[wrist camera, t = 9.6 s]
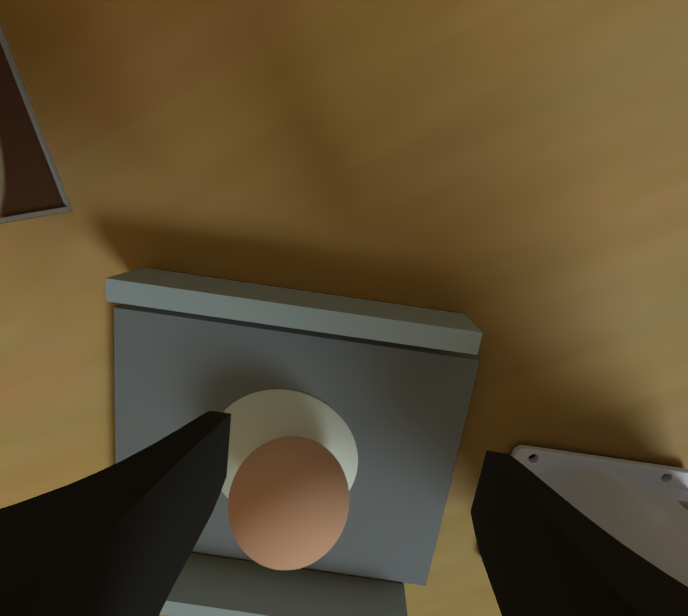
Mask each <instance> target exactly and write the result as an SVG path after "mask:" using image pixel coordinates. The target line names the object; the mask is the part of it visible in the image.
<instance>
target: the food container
mask: <svg viewBox="0 0 688 616" xmlns="http://www.w3.org/2000/svg"><path fill="white" fill-rule="evenodd" d="M70 211H73V209H72V207H71V204H70V202H69V199H68V196H67V194H66V191H65V189H64V186H63V184H62V181H61V178H60V176H59V173H58V171H57V168H56V166H55V163H54V161H53V158H52V155H51V153H50V150H49V148H48V145H47V143H46V140H45V137H44V135H43V132H42V130H41V127H40V125H39V122H38V120H37V117H36V114H35V112H34V109H33V107H32V104H31V102H30V99H29V96H28V94H27V91H26V89H25V86H24V84H23V81H22V78H21V76H20V73H19V71H18V68H17V66H16V63H15V61H14V58H13V55H12V53H11V50H10V48H9V45H8V43H7V40H6V37H5V35H4V32H3V30H2V27H1V25H0V224H2V223H8V222H14V221H19V220H25V219H31V218H36V217H42V216H48V215H53V214H59V213H65V212H70Z"/></svg>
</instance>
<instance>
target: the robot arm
mask: <svg viewBox="0 0 688 616" xmlns="http://www.w3.org/2000/svg"><path fill="white" fill-rule="evenodd" d="M230 424H231V413H224V412H217V411H208V412H206V413H204V414H202V415H201V416H199V417H197V418H196V419H194V420H192V421H191V422H189V423H188V424H186V425H184V426H183V427H181V428H179V429H178V430H176V431H174V432H173V433H171V434H169V435H168V436H166V437H164V438H163V439H161V440H159V441H157V442H156V443H154V444H152V445H150V446H148V447H147V448H145V449H143V450H141V451H139V452H137V453H135V454H133V455H132V456H130V457H128V458H126V459H124V460H122V461H120V462H118V463H116V464H114V465H112V466H110V467H108V468H106V469H104V470H102V471H99V472H97V473H95V474H93V475H90V476H88V477H86V478H83V479H81V480H79V481H76V482H74V483H72V484H69V485H67V486H64V487H61V488H58V489H56V490H53V491H50V492H48V493H45V494H42V495H39V496H37V497H34V498H31V499H28V500H26V501H23V502H20V503H17V504H14V505H11V506H8V507H5V508H1V509H0V616H159V614H160V612H161V610H162V608H163V606H164V604H165V602H166V600H167V598H168V596H169V594H170V592H171V590H172V588H173V586H174V584H175V582H176V580H177V579H178V577H179V575H180V573H181V571H182V569H183V567H184V565H185V563H186V562H187V560H188V558H189V556H190V554H191V552H192V550H193V548H194V547H195V545H196V543H197V541H198V539H199V537H200V535H201V533H202V532H203V530H204V528H205V526H206V524H207V522H208V520H209V518H210V516H211V514H212V512H213V510H214V508H215V505H216V503H217V500H218V498H219V495H220V493H221V490H222V487H223V485H224V482H225V479H226V477H227V465H228V451H229V438H230ZM532 454H535V456H534V457H533V458H529V456H530V455H532ZM664 474H665V476H663V475H664ZM662 476H663V477H662ZM471 516H472V521H473V526H474V531H475V535H476V539H477V544H478V548H479V551H480V554H481V557H482V561H483V564H484V566H485V569H486V572H487V575H488V577H489V580H490V583H491V586H492V589H493V591H494V594H495V597H496V600H497V603H498V605H499V608H500V611H501V614H502V616H688V470H687V469H685V468H679V467H672V466H665V465H658V464H651V463H645V462H638V461H631V460H624V459H617V458H610V457H603V456H596V455H589V454H583V453H576V452H569V451H562V450H555V449H548V448H541V447H534V446H528V445H519V446H516V447H515V448H514V449H513V451H512V454H511V455H509V454H506V453H499V452H492V451H487V452H486V456H485V459H484V463H483V467H482V471H481V475H480V478H479V482H478V486H477V490H476V493H475V497H474V501H473V505H472V509H471Z"/></svg>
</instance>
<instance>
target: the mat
mask: <svg viewBox="0 0 688 616" xmlns="http://www.w3.org/2000/svg"><path fill="white" fill-rule="evenodd" d="M479 364H480V360H479V358H478V357H477V356H476V355H474V354H467V353H461V352H454V351H447V350H440V349H433V348H426V347H419V346H412V345H405V344H398V343H391V342H385V341H378V340H371V339H364V338H357V337H350V336H343V335H336V334H329V333H322V332H315V331H309V330H302V329H295V328H288V327H281V326H274V325H267V324H260V323H253V322H246V321H239V320H232V319H226V318H219V317H212V316H205V315H198V314H191V313H184V312H177V311H170V310H163V309H156V308H150V307H143V306H136V305H129V304H121V305H119V306H116V307H114V379H115V464H116V463H118V462H120V461H122V460H124V459H126V458H128V457H130V456H132V455H133V454H135V453H137V452H139V451H141V450H143V449H145V448H147V447H148V446H150V445H152V444H154V443H156V442H157V441H159V440H161V439H163V438H164V437H166V436H168V435H169V434H171V433H173V432H174V431H176V430H178V429H179V428H181V427H183V426H184V425H186V424H188V423H189V422H191V421H192V420H194V419H196V418H197V417H199V416H201V415H202V414H204V413H206V412H208V411H217V412H224V413H231V424H230V438H229V451H228V465H227V477H226V479H225V482H224V485H223V487H222V490H221V493H220V495H219V498H218V500H217V503H216V505H215V508H214V510H213V512H212V514H211V516H210V518H209V520H208V522H207V524H206V526H205V528H204V530H203V532H202V533H201V535H200V537H199V539H198V541H197V543H196V545H195V547H194V548H193V550H192V551H193V552H200V553H206V554H213V555H220V556H227V557H234V558H241V559H247V560H252V559H251V558H250V557H249V556H248V555H246V554H245V552H244V551H243V550H242V549H241V548H240V546H239V545H238V543H237V541H236V539H235V537H234V535H233V533H232V530H231V527H230V523H229V517H228V496H229V492H230V487H231V484H232V481H233V479H234V476H235V474H236V472H237V470H238V469H239V467H240V465H241V464H242V463H243V461H244V460H245V459H246V458H247V457H248V456H249V455H250V453H252V452H253V451H254V450H255V449H256V448H258V447H259V446H261V445H263V444H264V443H266V442H268V441H271V440H273V439H276V438H280V437H287V436H298V437H304V438H308V439H311V440H313V441H316V442H318V443H320V444H321V445H323V446H324V447H325V448H327V449H328V450H329V451H330V452H331V453H332V454H333V455H334V456H335V458H336V459H337V460H338V462H339V463H340V465H341V467H342V469H343V471H344V473H345V476H346V479H347V483H348V488H349V511H348V516H347V520H346V523H345V526H344V528H343V531H342V533H341V535H340V537H339V538H338V540H337V541H336V543H335V544H334V545H333V547H332V548H331V549H330V550H329V551H328V552H327V553H326V554H325V555H324V556H323V557H321V558H320V559H319V560H317V561H316V562H314V563H312V564H310V565H308V566H306V567H303V568H309V569H316V570H322V571H329V572H336V573H343V574H350V575H357V576H363V577H370V578H377V579H384V580H391V581H398V582H404V583H411V584H418V585H425V586H426V582H427V577H428V573H429V569H430V565H431V561H432V557H433V553H434V549H435V545H436V540H437V536H438V532H439V528H440V524H441V520H442V516H443V512H444V508H445V503H446V499H447V495H448V491H449V487H450V483H451V479H452V475H453V471H454V466H455V462H456V458H457V454H458V450H459V446H460V442H461V438H462V434H463V429H464V425H465V421H466V417H467V413H468V409H469V405H470V401H471V397H472V392H473V388H474V384H475V380H476V376H477V372H478V368H479Z"/></svg>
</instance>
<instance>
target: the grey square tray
mask: <svg viewBox="0 0 688 616" xmlns="http://www.w3.org/2000/svg"><path fill="white" fill-rule="evenodd" d="M105 295H106V301H108V302H115V303H122V304H129V305H136V306H143V307H150V308H156V309H163V310H170V311H177V312H184V313H191V314H198V315H205V316H212V317H219V318H226V319H232V320H239V321H246V322H253V323H260V324H267V325H274V326H281V327H288V328H295V329H302V330H309V331H315V332H322V333H329V334H336V335H343V336H350V337H357V338H364V339H371V340H378V341H385V342H391V343H398V344H405V345H412V346H419V347H426V348H433V349H440V350H447V351H454V352H461V353H467V354H474V355H478V351H479V347H480V343H481V338H482V334H483V332H482V331H481V330H480V329H479V328H478V327H477V326H476V325H475V324H474V323H473V322H472V321H471V320H470V319H469V318H468V317H467V316H466V315H465V314H462V313H455V312H448V311H441V310H434V309H427V308H420V307H413V306H406V305H399V304H393V303H386V302H379V301H372V300H365V299H358V298H351V297H344V296H337V295H330V294H323V293H316V292H309V291H303V290H296V289H289V288H282V287H275V286H268V285H261V284H254V283H247V282H240V281H233V280H226V279H219V278H213V277H206V276H199V275H192V274H185V273H178V272H171V271H164V270H157V269H150V268H140V269H136V270H133V271H129V272H125V273H122V274H118V275H115V276H111V277H108V278H105ZM160 614H162V615H169V616H407V608H406V599H405V590H404V584H402V583H395V582H388V581H381V580H375V579H368V578H361V577H354V576H347V575H340V574H334V573H327V572H320V571H313V570H306V569H295V570H275V569H271V568H267V567H265V566H262V565H260V564H258V563H257V562H252V561H245V560H238V559H231V558H224V557H218V556H211V555H204V554H197V553H191V554H190V556H189V558H188V560H187V562H186V563H185V565H184V567H183V569H182V571H181V573H180V575H179V577H178V579H177V580H176V582H175V584H174V586H173V588H172V590H171V592H170V594H169V596H168V598H167V600H166V602H165V604H164V606H163V608H162V610H161V612H160Z"/></svg>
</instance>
